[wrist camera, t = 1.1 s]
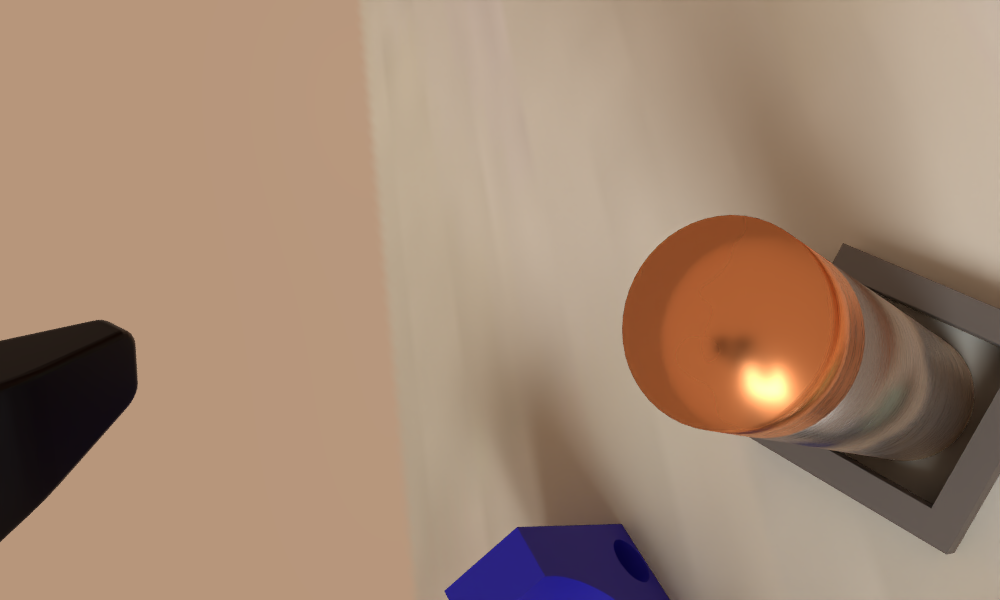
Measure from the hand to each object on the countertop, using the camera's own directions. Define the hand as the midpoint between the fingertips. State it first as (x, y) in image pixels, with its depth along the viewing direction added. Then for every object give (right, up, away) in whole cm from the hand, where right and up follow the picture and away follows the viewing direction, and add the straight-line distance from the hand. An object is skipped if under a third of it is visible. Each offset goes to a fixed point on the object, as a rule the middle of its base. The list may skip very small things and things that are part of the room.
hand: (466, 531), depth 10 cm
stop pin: (+11, 0, +16) cm, 19 cm away
